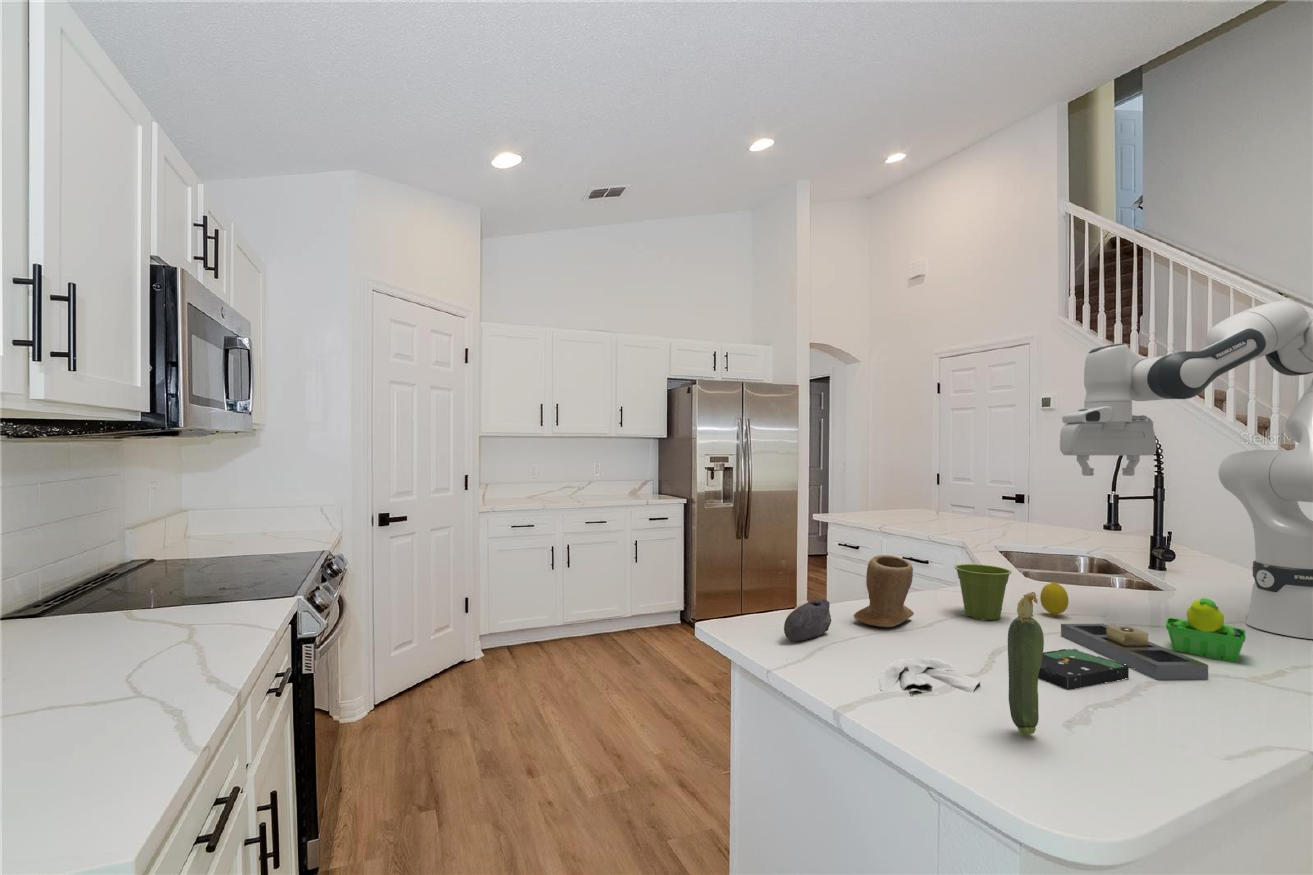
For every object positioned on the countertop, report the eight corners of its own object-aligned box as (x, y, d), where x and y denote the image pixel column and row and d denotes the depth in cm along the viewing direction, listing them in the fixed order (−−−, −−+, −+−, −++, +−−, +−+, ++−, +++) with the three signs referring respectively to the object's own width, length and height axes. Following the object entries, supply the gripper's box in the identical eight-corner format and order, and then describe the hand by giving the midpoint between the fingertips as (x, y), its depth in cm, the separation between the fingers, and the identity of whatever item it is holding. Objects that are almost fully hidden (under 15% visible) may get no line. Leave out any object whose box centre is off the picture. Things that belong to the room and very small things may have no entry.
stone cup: (898, 635, 129) (898, 564, 129) (847, 623, 137) (846, 557, 138) (928, 621, 139) (928, 555, 140) (878, 611, 148) (878, 549, 148)
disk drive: (1069, 694, 100) (1130, 681, 105) (1069, 677, 100) (1130, 664, 105) (1013, 672, 110) (1071, 660, 115) (1013, 656, 110) (1071, 646, 115)
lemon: (1072, 620, 140) (1072, 585, 140) (1046, 618, 141) (1046, 584, 141) (1062, 613, 146) (1062, 579, 146) (1036, 612, 147) (1036, 578, 147)
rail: (1102, 635, 129) (1102, 623, 129) (1208, 679, 105) (1208, 664, 105) (1060, 635, 129) (1060, 623, 129) (1156, 679, 105) (1156, 665, 105)
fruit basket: (1245, 655, 117) (1244, 596, 117) (1246, 668, 110) (1245, 605, 111) (1167, 642, 125) (1167, 586, 125) (1164, 653, 118) (1164, 594, 118)
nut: (1129, 651, 119) (1129, 625, 119) (1148, 659, 115) (1148, 632, 115) (1106, 651, 119) (1106, 625, 119) (1124, 660, 115) (1124, 632, 115)
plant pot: (1023, 624, 137) (1022, 574, 137) (969, 624, 137) (969, 573, 137) (994, 609, 149) (994, 563, 149) (945, 609, 149) (945, 563, 149)
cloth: (941, 659, 117) (941, 646, 117) (1029, 707, 95) (1029, 692, 95) (841, 665, 113) (841, 652, 113) (909, 717, 92) (909, 701, 92)
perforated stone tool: (795, 648, 121) (795, 613, 121) (774, 642, 125) (774, 607, 125) (838, 633, 131) (838, 600, 131) (817, 627, 135) (817, 596, 135)
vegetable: (1001, 726, 87) (1000, 586, 88) (1029, 725, 88) (1028, 586, 88) (1022, 741, 83) (1021, 594, 83) (1052, 740, 83) (1051, 593, 84)
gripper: (1141, 416, 143) (1141, 474, 143) (1055, 415, 143) (1055, 475, 143) (1164, 414, 137) (1164, 476, 137) (1074, 414, 137) (1074, 476, 137)
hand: (1108, 475), depth 140 cm, fingers open, 8 cm apart
